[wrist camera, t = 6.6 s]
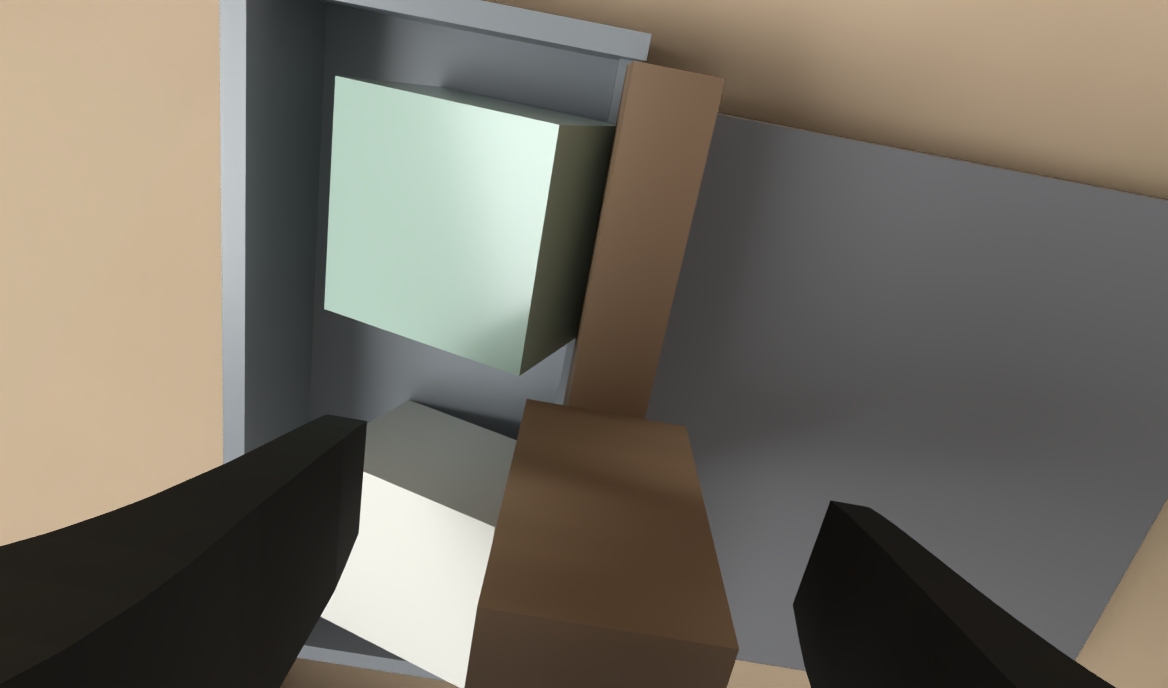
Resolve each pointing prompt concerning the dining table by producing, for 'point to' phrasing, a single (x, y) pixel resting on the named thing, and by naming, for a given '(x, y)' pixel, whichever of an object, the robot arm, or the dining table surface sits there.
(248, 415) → the tray
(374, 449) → the matte white cube
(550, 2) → the dining table surface
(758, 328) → the charcoal board
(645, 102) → the walnut mallet
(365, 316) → the pale mint cube
